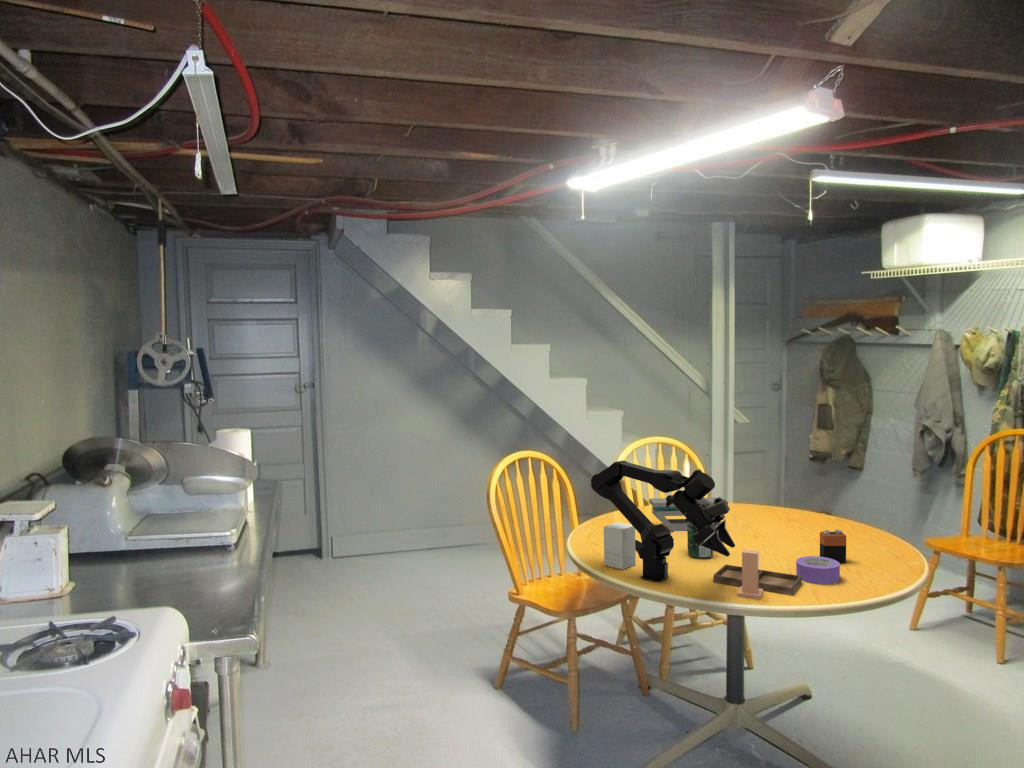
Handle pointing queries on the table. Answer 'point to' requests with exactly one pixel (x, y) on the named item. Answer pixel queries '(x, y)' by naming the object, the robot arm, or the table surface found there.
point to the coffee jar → (692, 546)
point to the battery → (833, 545)
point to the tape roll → (818, 570)
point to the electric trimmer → (638, 545)
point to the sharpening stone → (670, 513)
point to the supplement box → (619, 545)
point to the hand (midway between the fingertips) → (731, 551)
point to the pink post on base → (750, 575)
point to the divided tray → (760, 579)
